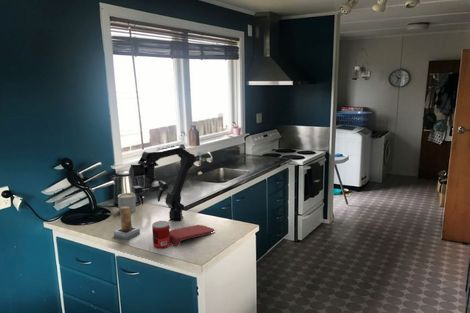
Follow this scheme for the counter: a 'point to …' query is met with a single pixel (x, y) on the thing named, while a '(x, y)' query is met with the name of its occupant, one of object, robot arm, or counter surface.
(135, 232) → the socket base
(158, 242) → the canned food
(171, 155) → the robot arm
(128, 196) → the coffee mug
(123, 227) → the tan round-ended cylinder
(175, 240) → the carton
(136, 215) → the counter surface
